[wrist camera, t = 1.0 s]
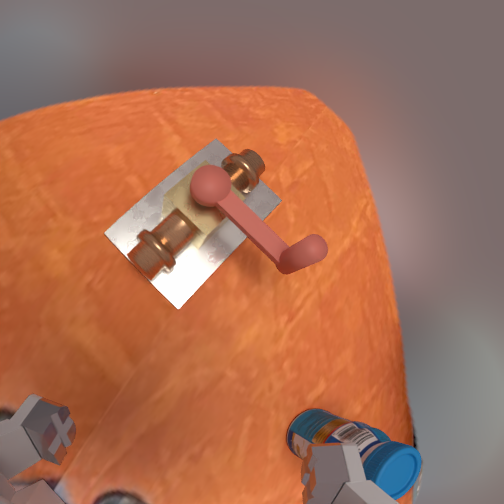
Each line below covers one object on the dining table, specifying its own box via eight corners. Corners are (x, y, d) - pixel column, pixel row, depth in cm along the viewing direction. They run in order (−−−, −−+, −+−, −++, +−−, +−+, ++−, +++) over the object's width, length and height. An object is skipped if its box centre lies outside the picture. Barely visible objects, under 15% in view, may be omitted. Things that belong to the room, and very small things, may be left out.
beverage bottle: (341, 412, 44) (437, 440, 25) (323, 460, 41) (410, 507, 22) (295, 401, 42) (387, 436, 24) (276, 453, 39) (354, 512, 21)
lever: (181, 187, 34) (189, 155, 28) (208, 164, 36) (222, 130, 30) (282, 284, 35) (312, 274, 29) (304, 257, 37) (337, 241, 30)
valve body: (177, 309, 40) (185, 304, 32) (104, 234, 40) (94, 210, 31) (280, 202, 49) (306, 177, 40) (215, 141, 48) (229, 105, 39)
